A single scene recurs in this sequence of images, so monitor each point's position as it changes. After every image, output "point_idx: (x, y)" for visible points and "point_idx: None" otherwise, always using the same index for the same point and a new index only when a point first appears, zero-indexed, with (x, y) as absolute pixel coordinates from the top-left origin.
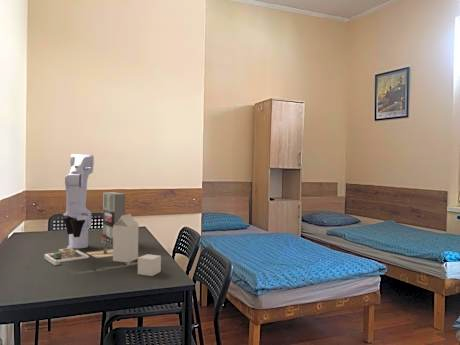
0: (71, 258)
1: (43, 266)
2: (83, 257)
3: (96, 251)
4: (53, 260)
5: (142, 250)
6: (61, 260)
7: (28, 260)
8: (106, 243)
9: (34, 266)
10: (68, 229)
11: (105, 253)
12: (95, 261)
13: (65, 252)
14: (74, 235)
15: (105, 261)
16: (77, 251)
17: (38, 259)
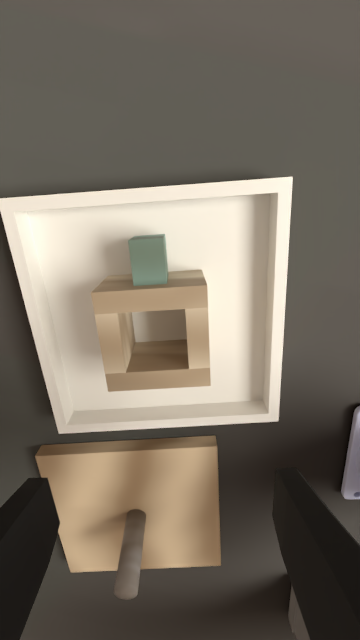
0: (31, 327)
1: (21, 111)
2: (52, 399)
3: (208, 495)
4: (32, 196)
5: (152, 632)
6: (14, 253)
7: (303, 31)
8: (116, 588)
9: (51, 35)
10: (305, 539)
11: (126, 515)
12: (24, 433)
13: (97, 316)
14: (11, 499)
15: (3, 470)
16: (244, 412)
17: (284, 127)
